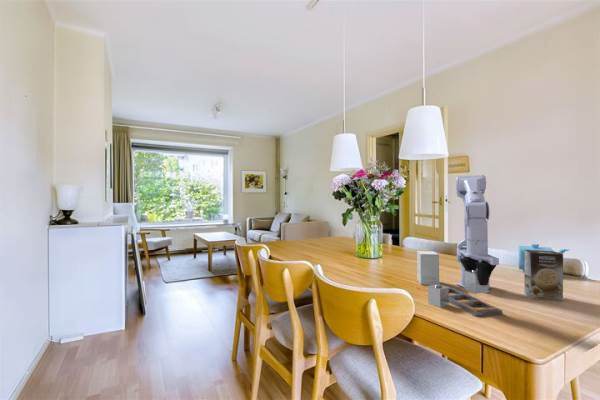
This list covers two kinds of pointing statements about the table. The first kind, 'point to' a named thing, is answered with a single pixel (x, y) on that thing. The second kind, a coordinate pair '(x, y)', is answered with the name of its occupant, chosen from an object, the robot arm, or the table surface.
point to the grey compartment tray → (472, 304)
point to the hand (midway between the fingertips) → (477, 282)
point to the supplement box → (427, 267)
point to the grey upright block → (438, 295)
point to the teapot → (533, 247)
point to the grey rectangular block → (474, 282)
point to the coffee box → (543, 275)
